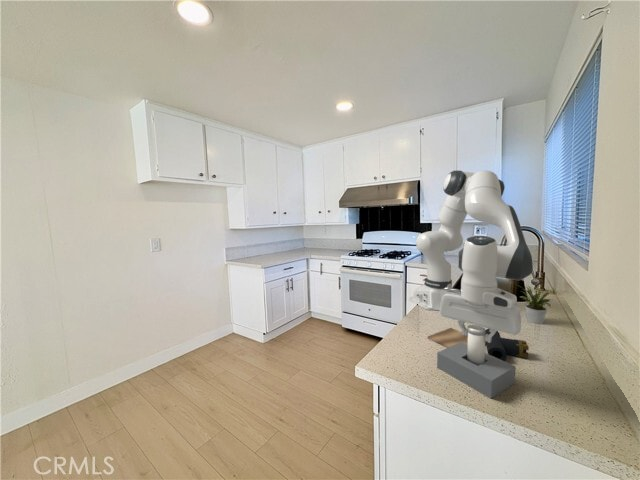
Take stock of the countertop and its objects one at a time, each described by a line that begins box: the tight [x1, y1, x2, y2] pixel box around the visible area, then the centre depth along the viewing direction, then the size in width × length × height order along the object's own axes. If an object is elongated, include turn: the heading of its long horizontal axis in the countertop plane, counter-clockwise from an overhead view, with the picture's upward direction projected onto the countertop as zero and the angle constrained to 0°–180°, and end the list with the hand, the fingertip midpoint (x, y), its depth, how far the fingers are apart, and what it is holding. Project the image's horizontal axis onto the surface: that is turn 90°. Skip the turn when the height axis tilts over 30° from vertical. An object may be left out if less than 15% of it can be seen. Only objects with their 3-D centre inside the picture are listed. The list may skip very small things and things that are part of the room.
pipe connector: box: [485, 328, 530, 362], centre depth 88 cm, size 12×5×15 cm
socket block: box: [436, 342, 517, 399], centre depth 76 cm, size 16×12×5 cm
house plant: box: [516, 285, 554, 325], centre depth 110 cm, size 14×14×16 cm
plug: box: [467, 324, 486, 365], centre depth 75 cm, size 4×4×10 cm
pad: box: [427, 327, 486, 349], centre depth 96 cm, size 14×14×1 cm
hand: (476, 338), depth 75 cm, fingers closed on plug, 4 cm apart
